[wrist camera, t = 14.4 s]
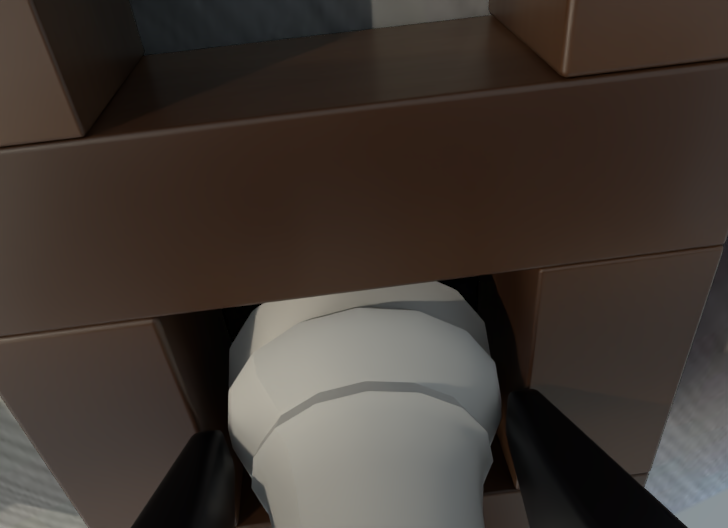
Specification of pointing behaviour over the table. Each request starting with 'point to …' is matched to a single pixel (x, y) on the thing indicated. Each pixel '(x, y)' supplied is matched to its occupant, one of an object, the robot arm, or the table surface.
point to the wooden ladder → (352, 215)
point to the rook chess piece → (366, 409)
